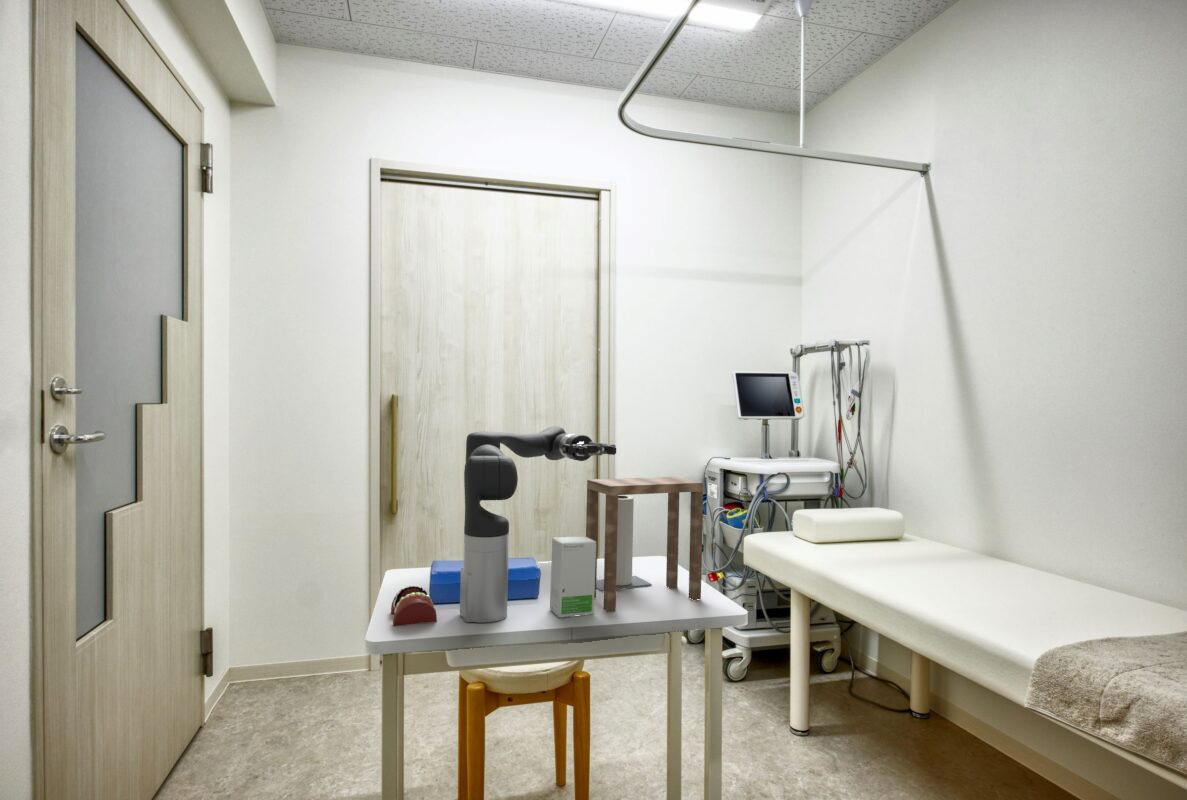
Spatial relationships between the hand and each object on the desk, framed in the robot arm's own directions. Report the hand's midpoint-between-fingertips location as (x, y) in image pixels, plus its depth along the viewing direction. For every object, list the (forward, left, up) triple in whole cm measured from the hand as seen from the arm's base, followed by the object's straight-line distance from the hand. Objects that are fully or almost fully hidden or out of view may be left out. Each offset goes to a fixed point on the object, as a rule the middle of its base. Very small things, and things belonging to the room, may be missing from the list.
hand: (600, 451), depth 169 cm
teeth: (-51, -20, -33) cm, 64 cm away
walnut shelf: (0, -25, -32) cm, 41 cm away
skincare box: (-19, -28, -32) cm, 47 cm away
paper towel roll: (0, -13, -32) cm, 34 cm away
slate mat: (0, -13, -32) cm, 35 cm away
